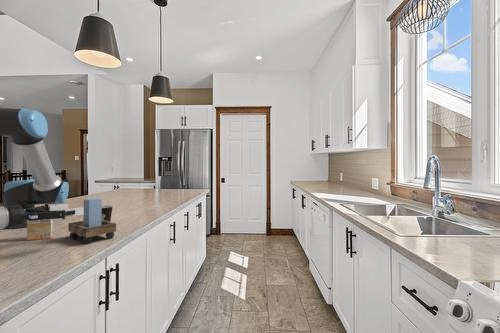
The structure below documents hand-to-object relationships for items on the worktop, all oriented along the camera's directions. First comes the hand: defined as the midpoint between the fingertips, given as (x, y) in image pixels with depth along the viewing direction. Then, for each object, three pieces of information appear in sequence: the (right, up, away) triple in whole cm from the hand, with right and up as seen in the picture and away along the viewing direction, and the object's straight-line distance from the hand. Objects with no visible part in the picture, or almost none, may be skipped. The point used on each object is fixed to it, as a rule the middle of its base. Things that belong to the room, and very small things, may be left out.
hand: (75, 208), depth 105 cm
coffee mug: (-6, -14, +28) cm, 31 cm away
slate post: (+3, -9, +6) cm, 11 cm away
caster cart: (+3, -14, +6) cm, 15 cm away
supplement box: (-18, -14, +4) cm, 23 cm away
